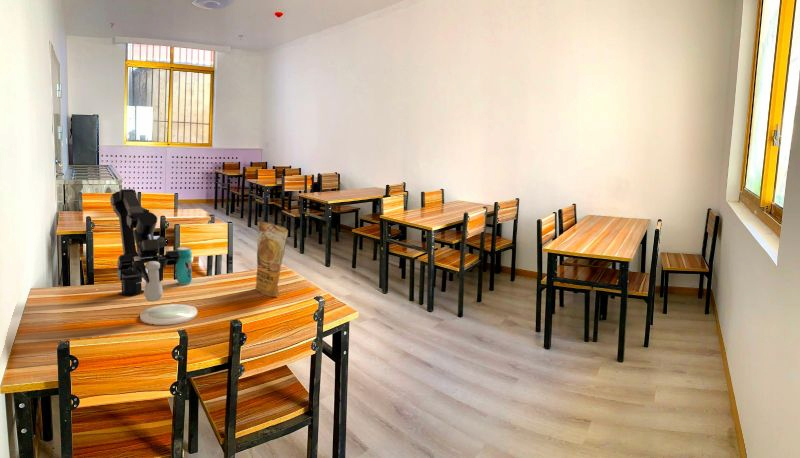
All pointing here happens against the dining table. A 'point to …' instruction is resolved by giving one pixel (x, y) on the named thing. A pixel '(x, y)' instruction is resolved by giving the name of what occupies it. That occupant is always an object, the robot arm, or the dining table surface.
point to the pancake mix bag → (269, 257)
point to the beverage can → (184, 266)
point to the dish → (168, 314)
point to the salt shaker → (153, 282)
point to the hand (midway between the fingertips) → (154, 281)
